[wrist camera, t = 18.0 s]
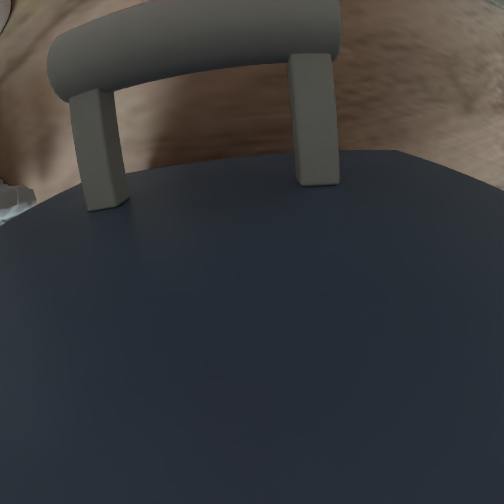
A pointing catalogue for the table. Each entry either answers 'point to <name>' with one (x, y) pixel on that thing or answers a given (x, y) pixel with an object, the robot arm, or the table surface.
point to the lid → (247, 297)
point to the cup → (4, 12)
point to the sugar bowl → (498, 3)
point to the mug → (14, 201)
